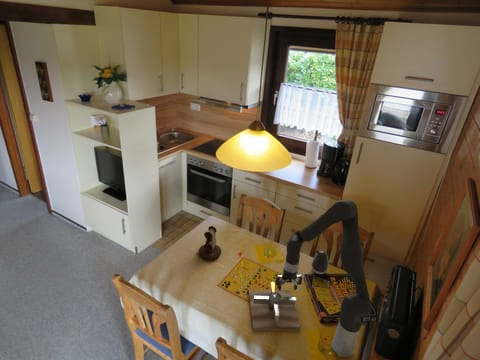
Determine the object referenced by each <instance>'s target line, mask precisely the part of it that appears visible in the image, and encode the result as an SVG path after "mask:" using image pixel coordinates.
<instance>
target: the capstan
mask: <svg viewBox="0 0 480 360" xmlns="http://www.w3.org/2000/svg"><path fill="white" fill-rule="evenodd" d="M275 286H276V283H275V281H271V282H270V286H269V287H270V288H269V289H270V290H271V293H270V294H269V296H254V300H253V304H268V305H269V309H270V310H271V311H273V312H274V319H275V321H279V310H278V306H279V305H295V306H296V303H297V298H296V297H295V296H294V297H293V296H292V297H281V295H280V294H279V293H278V292H276V287H275Z"/></svg>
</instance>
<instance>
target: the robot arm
mask: <svg viewBox="0 0 480 360" xmlns="http://www.w3.org/2000/svg"><path fill="white" fill-rule="evenodd" d="M340 222H341V226H342V227H341V228H342V235H341V241H340V247H339V248H340V249H339V254H340V261H341V266H342V268H343V269H344V271H345V273H346V274H347V275H348V277H350V279H351V280H352V282H353V284H354V288H355V294H351V295H346V296H344V297H343V298H342V302H341V307H340V309H339V319H338V323H337V327H336V330H335V332H334V337H333V340H332V341H331V348H332V351H334V353H335V354H336V355H337V356H338V358H351V357H352V356H353V353H354V351H355V348H356V345H357V343H356V341H357V339H358V336H359V332H360V329H361V327H362V321H361V318H362V317H366V316H369V315H370V314H371V312H372V303H371V299H370V293H369V290H368V285H367V281H366V273H365V267H364V265H365V264H364V259H363V257H364V256H363V251H362V246H361V245H362V244H361V238H360V231H359V210H358V206H357V204H356V203H355V202H354V200H351V199H339V200H337V201H335V202H334V203H333V204H332V205H331V206H330V207H329V208H328V209H327V210H326V211H325V212H324V213H323V214H322V215H320V216H319V217H318V218H316V219H315V220H313V221H312V222H311V223H309V224H308V225H306V226H305V227H303V228H302V229H299V230H297V231H295V232H294V233H292V234H291V235H290V237H289V239H288V241H287V244H286V256H285V260H284V263H283V264H284V265H283V270H282V274H281V275H280V274H278V273H277V274H276V276H275V281H274V284H275V286H277V290H279V291H281V290H282V286H283V285H285V284H286V283H288V284H289V283H293V290H294V291H297V289H298V286H299V285H300V286H301V285H302V284H303V275H302V273H299V274H298V272H299V266H300V258H301V254H300V253H301V250H302V247H303V244H304V243H305V242H307V243H310V242H312V241H313V240H315V239H316V238H318V237H319V236H321V235H323V233H324V232H326V230H327V229H329V228H330V227H331V226H333V225H335V224H337V223H340ZM297 280H298V281H297Z"/></svg>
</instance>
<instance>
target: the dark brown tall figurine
mask: <svg viewBox="0 0 480 360" xmlns="http://www.w3.org/2000/svg"><path fill="white" fill-rule="evenodd" d="M217 232H218V231H217V228H216V227H215V226H214V225H209V226H208V231H205V232H204V233H203V236H204V238H205V244H202V245H201V246H200V247H199V249H198V254H199V255H198V256H199V257H201V258H202V259H204V260H208V261H215V260H216V259H218V258H219V257H220V256H221V255H222V249H221V247H220V246H219V245H217V237H216V233H217Z"/></svg>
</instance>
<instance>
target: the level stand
mask: <svg viewBox="0 0 480 360" xmlns="http://www.w3.org/2000/svg"><path fill="white" fill-rule="evenodd" d="M275 290H276V289H275ZM276 292H278V293H279V294H280V295H281V297H293V294H292V293H293V292H292V290H290V289H289V290H283V289H281V291H279V290H278V289H277V290H276ZM270 293H271V289H270V290H269V289H268V290H267V289H266V290H265V289H264V290H262V289H261V290H259V289H257V290H255V289H253V290H251V289H250V290H248V298H249V299H248V300H249V306H250V308H249V309H250V315H251V316H250V317H251V324H252V331H301V329H302V327H301V324H300V321H299V320H300V319H299V316H298V313H297V309H296V304H295V305H279V306H278V310H279V321H275V319H274V312H273V311H271V310H270V309H269V305H268V304H253V300H254V296H269V294H270Z"/></svg>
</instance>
